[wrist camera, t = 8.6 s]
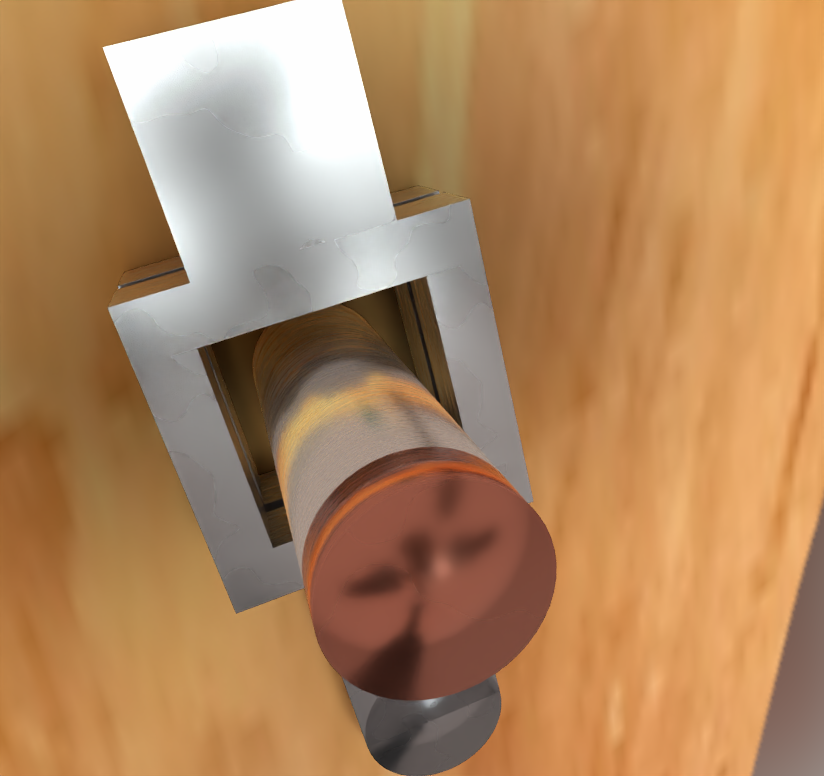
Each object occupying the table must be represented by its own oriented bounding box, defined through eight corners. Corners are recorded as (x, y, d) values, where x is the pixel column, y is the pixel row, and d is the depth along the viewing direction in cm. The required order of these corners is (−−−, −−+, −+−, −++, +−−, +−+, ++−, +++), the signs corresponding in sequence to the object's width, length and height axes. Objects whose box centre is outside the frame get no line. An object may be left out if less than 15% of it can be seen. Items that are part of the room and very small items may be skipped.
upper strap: (478, 441, 20) (533, 501, 17) (228, 530, 19) (236, 613, 16) (375, 0, 16) (421, -31, 13) (47, 82, 15) (7, 70, 12)
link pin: (395, 401, 19) (573, 644, 10) (276, 441, 19) (352, 736, 10) (362, 284, 18) (533, 443, 9) (234, 324, 18) (277, 535, 9)
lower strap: (536, 685, 24) (558, 721, 22) (326, 773, 23) (336, 818, 21) (418, 185, 18) (438, 190, 16) (123, 272, 17) (117, 286, 15)
